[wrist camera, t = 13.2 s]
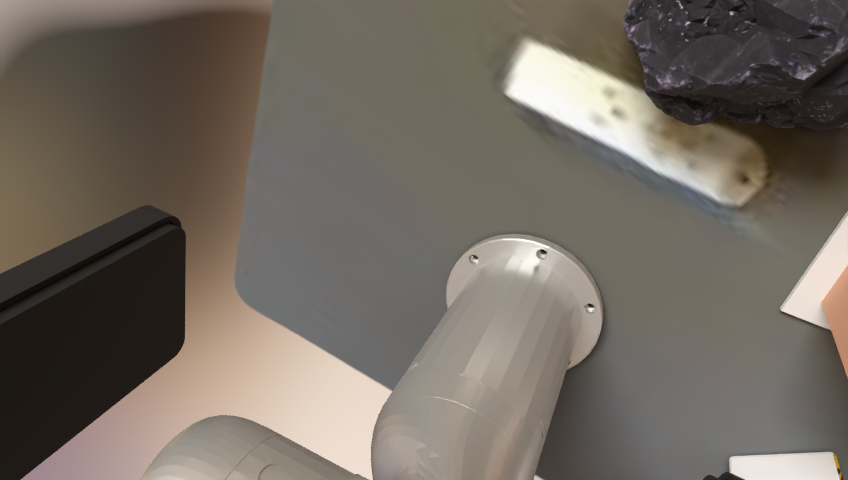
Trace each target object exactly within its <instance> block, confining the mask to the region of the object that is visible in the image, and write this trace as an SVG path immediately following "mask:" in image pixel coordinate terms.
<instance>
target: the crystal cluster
mask: <svg viewBox="0 0 848 480" xmlns="http://www.w3.org/2000/svg"><path fill="white" fill-rule="evenodd" d="M623 25H624V30H625V32H626V34H627V37H628V39H629V42H630V43H631V45H632V46H633V48H634V50H635V52H636V54H637V55H638V56H639V57H640V60H641V63H642V67H643V70H644V74H643V76H644V89H645V92H646V94H647V95H648V96H649V97H650V99H651V100H652V102H653V103H654V104H655V106H656V107H657V108H659V109H661V110H662V111H663V112H664V113H665V114H667V115H670V116H672V117H674V118H675V119H677V120H679V121H681V122H684V123H687V124H690V125H699V124H705V123H710V122H712V121H713V120H714V119H715V118H716V117H717V116H718V115H721V116H725V117H726V118H727V120H733V121H736V122H738V123H751V124H758V123H761V122H763V121H765V122H767V123H768V124H770V125H771V126H773V127H777V128H793V127H798V126H803V127H807V128H810V129H814V130H824V131H828V130H832V129H835V128H839V127H841V128H844V129H846V128H848V0H630V2H629V8H628V10H627V12H626V15H625V18H624V20H623Z"/></svg>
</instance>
